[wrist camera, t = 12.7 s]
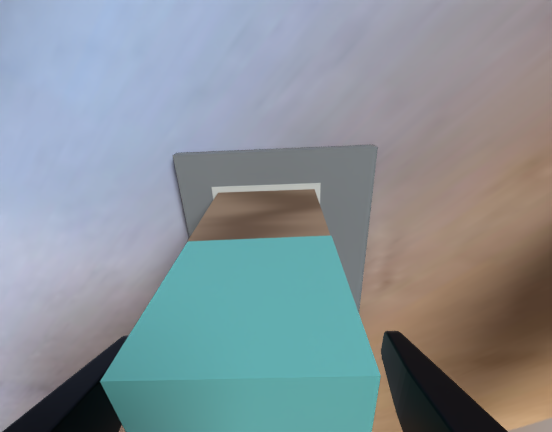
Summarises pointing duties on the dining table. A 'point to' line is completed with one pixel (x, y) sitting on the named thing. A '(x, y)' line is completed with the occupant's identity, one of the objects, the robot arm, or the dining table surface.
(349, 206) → the mat
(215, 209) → the walnut block
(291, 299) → the teal block
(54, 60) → the dining table surface
